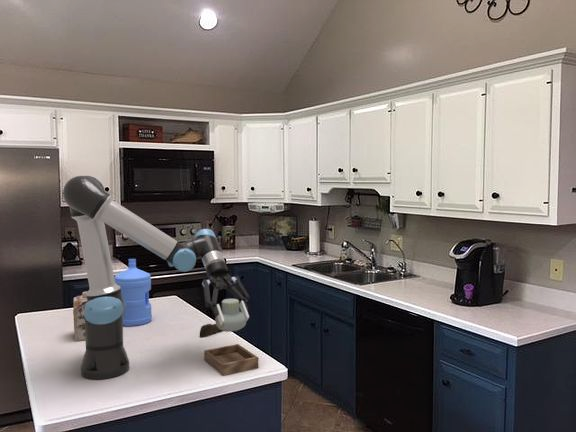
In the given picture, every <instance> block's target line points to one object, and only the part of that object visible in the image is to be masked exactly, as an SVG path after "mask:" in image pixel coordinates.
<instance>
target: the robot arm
mask: <svg viewBox="0 0 576 432" xmlns="http://www.w3.org/2000/svg"><path fill="white" fill-rule="evenodd" d="M62 196H63V200H64V202H65V203H66V205H68V207H69V211H70V215H71V216H70V217H71V219H72V220H75V221H76V222H77V228H78V233H79V238H80V242H81V243H80V244H81V249H82V253H83V259H84V264H85V265H84V266H85V270H86V275H87V281H88V285H89V290H87V291H88V292H87V293H86V297H87V303H86V305H85V310H84V317H85V340H84V341H85V351H84V353H83V358H82V362H81V364H80V375H81V376H82V377H83V378H85V379H90V380H105V379H110V378H114V377H118V376H122V374H125V373H127V372H128V371H129V370H130V360H129V357H128V354H127V352H126V349H125V347H124V346H125V345H124V326H123V317H124V314H125V308H126V307H125V302H124V300H123V298H122V293H121V287H120V286H119V285H117V284H116V283H115V279H114V277H115V275H114V269H113V263H112V257H111V253H110V247H109V241H108V236H107V231H106V230H107V229H106V225H107V226H109V227H111V228H112V229H114V230H116V231H118V232H119V233H121V234H122V235H123V236H125V237H127V238H129V239H130V240H131V241H134V242H135V243H137V244H138V245H140V246H141V247H144V248H145V249H146V250H148V251H150V252H152V253H153V254H155V255H156V256H158V257H160V258H161V259H162V260H165V261H166V262H167V264H168V266H169V268H172V267H175V269H176V270H178V271H181V272H189V271H191V270H192V269H193V268H194V267H195V266H196V262H197V260H199V259H201V261H202V263H203V266H204V269H205V272H206V275H207V278H208V279H205V278H204V279H203V280H202V283H201V287H202V288H203V295H204V304H205V308H207V309H208V308H210V310H212V312H213V315H214V317H216V316H217V317H218V320H219V323H220V325H223V323H224V318H223V315H222V308H221V305H220V303H217V301H218V296H219V291H221V290H226V291H227V292H229V293H231V294H232V296H233V297H234V299H237V300H239V310H240V312H241V313H243V314H244V315H245V317H246V322H247V321H248V320H249V319H250V315H249V312H248V311H249V307H248V301H249V299H250V295H249V293H248V291H247V290H246V288H245V287H244V284H242V281H241V278H240V276H239V275H236V276H232V275H230V272H229V268H228V266H227V264H226V261H225V258H224V255H223V253H222V251H221V250H222V249H221V247H220V244H219V241H218V238H217V237H216V234H215V232H214V231H213V230H212V229H210V228H202V229H200V230H199V231H197V232H196V233H195V234H194V238H193V239H190V240H187V241H184V242H179V241H178V240H176V239H175V238H173V237H172V236H170V235H168V234H166V233H165V232H163V231H162V230H160V229H159V228H157V227H155V226H154V225H152V224H151V223H149V222H147V221H146V220H145V219H143V218H141V217H140V216H138V215H137V214H136V213H133V212H132V211H131V210H129V209H128V208H126V207H125V206H123V205H121V204H119V203H118V202H116V201H115V200H114V199H113V197H112V195H111V194H109V193H108V192H107V191H105V187H104V185H103V184H102V182H101V181H100V180H99V179H98V178H96V177H95V176H91V175H78V176H73V177H71V178H70V179H69V180H68V181H66V183H65V185H64V187H63V190H62ZM105 224H106V225H105ZM210 286H212V287H213V290H212V291H213V292H212V299H211V292H210ZM231 294H230V295H231Z"/></svg>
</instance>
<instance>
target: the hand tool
mask: <svg viewBox="0 0 576 432" xmlns="http://www.w3.org/2000/svg"><path fill="white" fill-rule="evenodd" d="M220 331H222V330H220V329H219V328H218V327H217V325H216V323H213V324H212V323H207V324H203V325H202V326H200V330H199V338H205V337H209V336H212V335H213V334H215V333H218V332H220Z"/></svg>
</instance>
